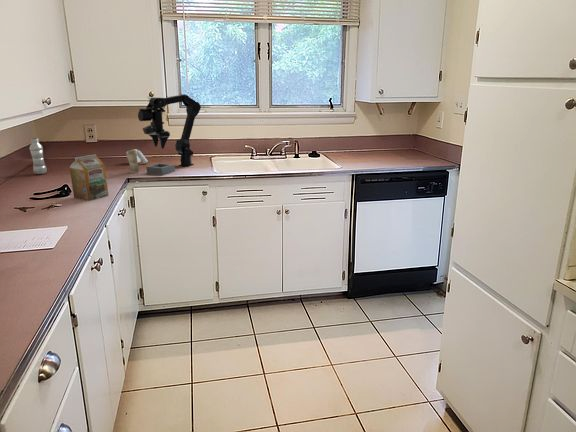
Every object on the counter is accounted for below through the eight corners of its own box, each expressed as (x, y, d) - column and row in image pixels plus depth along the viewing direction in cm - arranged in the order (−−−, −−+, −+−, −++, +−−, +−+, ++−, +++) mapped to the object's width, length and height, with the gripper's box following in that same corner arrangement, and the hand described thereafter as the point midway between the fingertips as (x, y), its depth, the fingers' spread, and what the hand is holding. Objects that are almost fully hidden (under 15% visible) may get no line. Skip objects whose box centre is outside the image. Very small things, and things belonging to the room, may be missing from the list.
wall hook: (145, 164, 276) (140, 148, 274) (130, 167, 279) (125, 152, 276) (151, 162, 284) (146, 146, 281) (137, 165, 286) (132, 149, 284)
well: (159, 169, 264) (158, 163, 263) (174, 171, 260) (174, 164, 259) (146, 173, 254) (146, 166, 253) (162, 175, 250) (162, 168, 249)
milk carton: (88, 201, 200) (82, 158, 195) (74, 197, 206) (67, 156, 200) (108, 195, 209) (103, 155, 203) (94, 192, 214) (88, 153, 208)
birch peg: (134, 171, 260) (131, 149, 256) (140, 172, 258) (138, 150, 254) (128, 172, 256) (126, 151, 252) (134, 173, 254) (132, 151, 251)
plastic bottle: (50, 173, 254) (44, 137, 248) (39, 175, 248) (33, 139, 242) (42, 172, 257) (36, 137, 251) (31, 174, 251) (25, 138, 245)
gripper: (137, 119, 258) (139, 146, 263) (150, 122, 245) (152, 150, 249) (155, 118, 265) (157, 145, 270) (169, 121, 251) (171, 149, 256)
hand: (159, 147), depth 261 cm, fingers open, 9 cm apart
